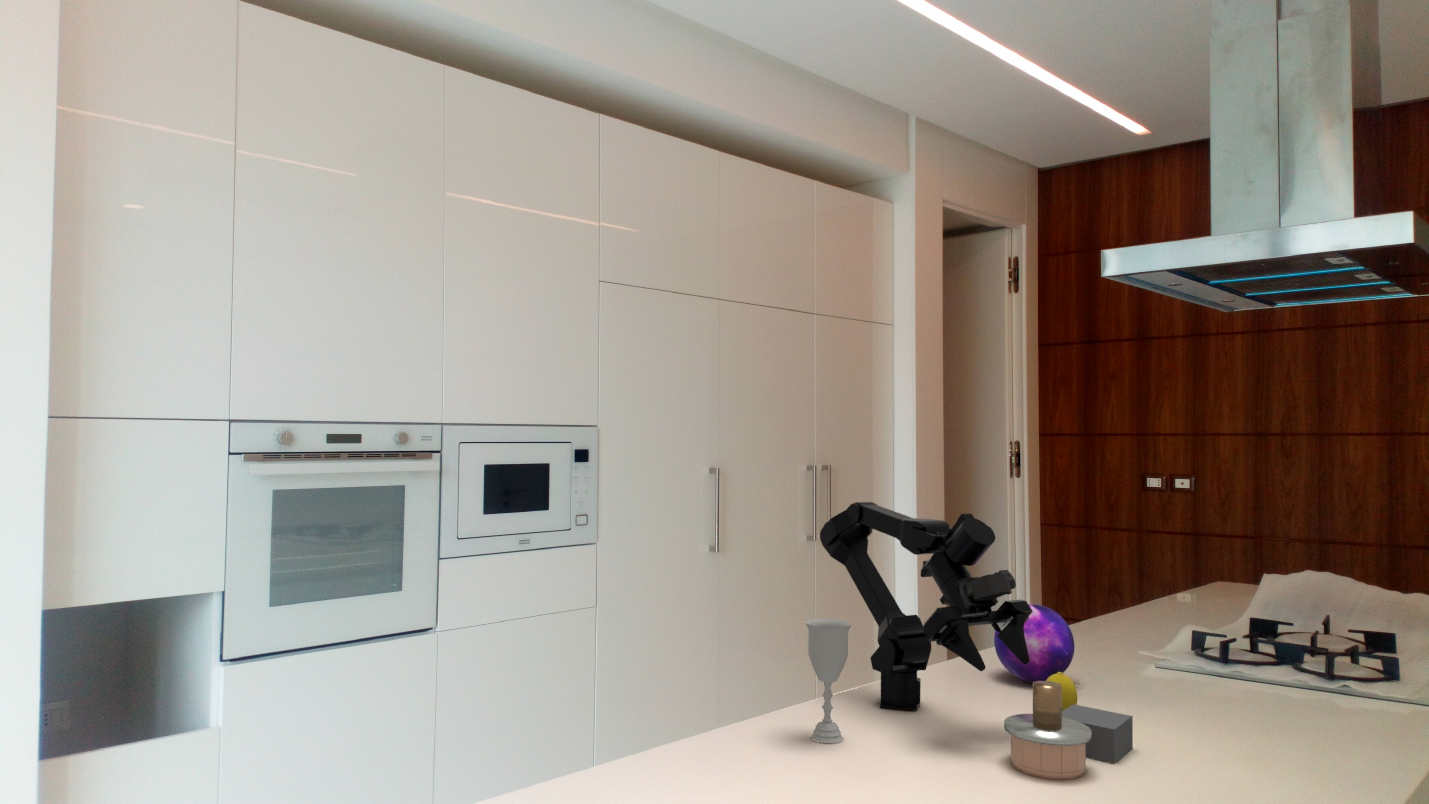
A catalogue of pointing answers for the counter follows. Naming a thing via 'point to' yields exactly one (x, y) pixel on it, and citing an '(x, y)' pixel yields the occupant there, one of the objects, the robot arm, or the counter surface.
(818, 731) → the chalice
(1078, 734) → the lid
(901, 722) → the counter surface
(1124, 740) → the block
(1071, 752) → the bowl
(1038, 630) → the decorative orb
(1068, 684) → the lemon
